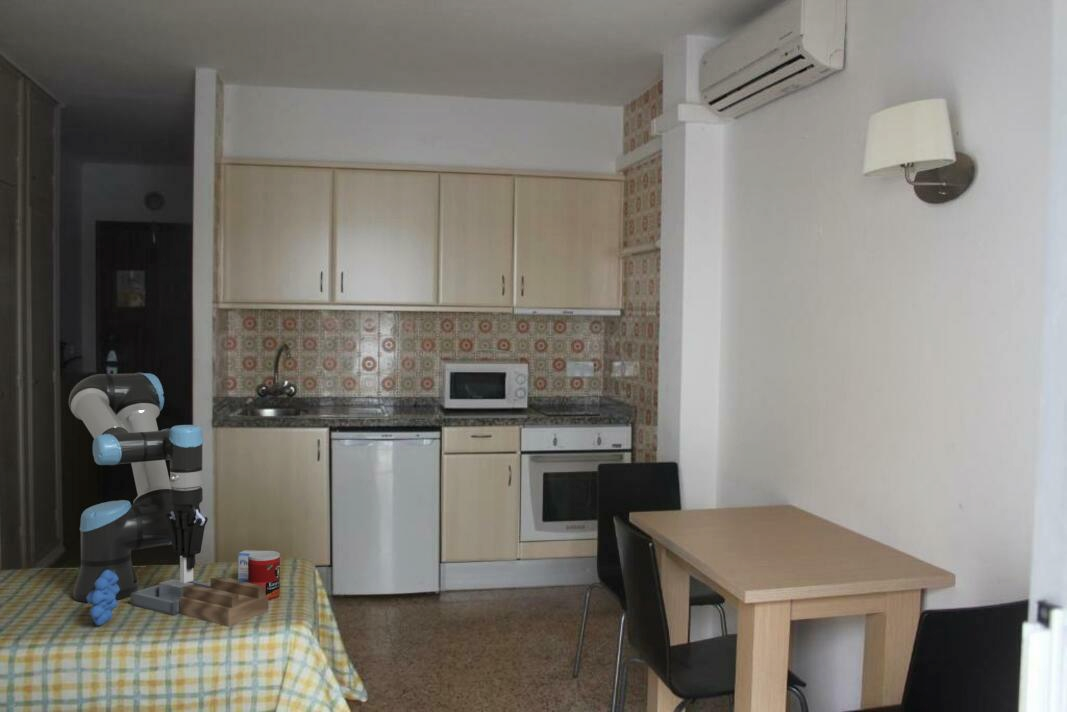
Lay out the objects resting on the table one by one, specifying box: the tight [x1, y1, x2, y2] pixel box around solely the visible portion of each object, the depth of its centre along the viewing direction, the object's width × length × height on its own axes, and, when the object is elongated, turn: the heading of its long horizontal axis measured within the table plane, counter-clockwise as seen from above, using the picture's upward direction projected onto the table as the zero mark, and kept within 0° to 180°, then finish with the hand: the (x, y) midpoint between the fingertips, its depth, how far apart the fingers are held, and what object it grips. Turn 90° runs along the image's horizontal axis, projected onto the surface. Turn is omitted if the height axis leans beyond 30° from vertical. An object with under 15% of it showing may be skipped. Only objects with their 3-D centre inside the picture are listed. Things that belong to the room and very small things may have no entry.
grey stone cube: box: [158, 578, 180, 600], centre depth 215 cm, size 4×4×4 cm
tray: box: [130, 578, 211, 616], centre depth 214 cm, size 16×15×3 cm
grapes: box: [86, 570, 120, 627], centre depth 198 cm, size 12×7×12 cm, turn 4°
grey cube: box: [170, 582, 194, 601], centre depth 213 cm, size 4×4×4 cm
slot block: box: [179, 575, 269, 627], centre depth 205 cm, size 17×12×6 cm
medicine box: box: [237, 549, 259, 583], centre depth 230 cm, size 8×4×9 cm, turn 77°
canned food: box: [248, 550, 281, 601], centre depth 218 cm, size 8×8×11 cm
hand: (186, 581), depth 212 cm, fingers closed
